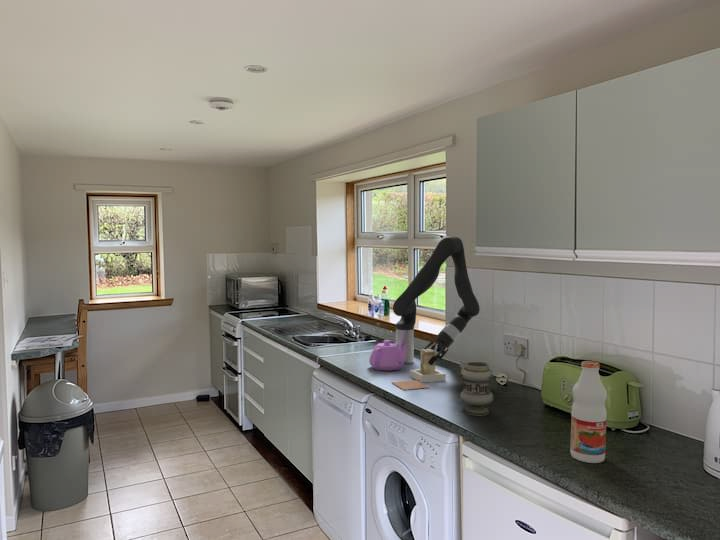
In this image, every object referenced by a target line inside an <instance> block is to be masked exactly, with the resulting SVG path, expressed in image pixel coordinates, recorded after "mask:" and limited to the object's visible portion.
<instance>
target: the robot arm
mask: <svg viewBox="0 0 720 540" xmlns="http://www.w3.org/2000/svg"><path fill="white" fill-rule="evenodd" d="M449 257H451V259H452V260H453V264H454V277H453V279H454V280H453V281H454V286H455V289H456V292H457V295H458V297H459V298H460V299H461V301H462V303H463V304H462V306H461V307H460V308H459V310H458V311H457V312H456V314H455V316H454V317H453V318H452V319H451V320H450V321H449V322H448V323H447V324H446V325H445V326H444V327H443V328H442V329H441V330H440V332H439V333H438V334H437V335H436V336H435V341H433V340H431V341H430V342H429V343H428V344H427V345H426V346H425V347H424V348H423V349H432V350H434V356H433V357H432V358H431V359H430V360H429V361H428V363H429V364H430V365H433V363H434V362H435V363H436V362H437V360H442V359H443V357H444V356H445V355H447V352H448V351H449V348H450V347H451V346H452V345H453V344H454V342H456V339H457V338H458V337H459V336H460V334H461V333H462V332H463V331H464V330H465V328H466V327H467V324H468V323H469V322H470V321H471V320H472V318H473V317H476V316H477V315H478V314H479V313H480V309H481V308H480V304H479V302H478V299H477V297H476V296H475V294H474V292H473V288H472V287H473V286H472V285H471V281H470V278H469V273H468V269H467V268H468V267H467V262H466V257H465V249H464V243H463V241H462V239H461V238H460V237H458V236H445V237H442V238H441V239H440V240H439V242H438V243H437V245H436V247H435V248H434V250H433V252H432V254H431V255H430V257H429V258H428V259H427V260H426V261H425V263H424V264H423V266H422V267H421V268H420V270H419V271H418V272H417V274H416V275H415V277H414V278H413V279H412V281H411V282H409V283H410V284H409V285H408V286H407V288H406V289H404V291H403V292H402V293H401V294H400V295H399V296H398V297H397V298H396V299H395V301H394V302H393V306H392V311H393V313H394V315H395V316H397V317H400V319H399V320H398V322H396V324H395V343H397V344H398V345H399V347H400V350H401V352H402V349H403V347H404V346H405V345H409V346H408V347H407V350H406V354H407V357H406V360H405V362H404V364H412V363H414V354H415V352H414V343H415V336H414V335H415V325H416V321H417V320H416V319H417V303H416V301H415V300H416V299H418V298H419V297H420V296H421V295H423V294H425V292H427V291H428V290H429V289H430V288H431V287H432V286H433V284H434V283H436V281H437V279H438V278H439V275H440V271H441V267H442V265H443V264H444V263H445V261H446V260H447V259H448V258H449ZM419 359H420V360H421V356H420V357H419Z"/></svg>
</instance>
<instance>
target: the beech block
mask: <svg viewBox="0 0 720 540" xmlns="http://www.w3.org/2000/svg"><path fill="white" fill-rule="evenodd" d="M433 356H434V350H432V349H428V348H427V349H424V348H423V349H420V357H421V359H420V365H419V367H420V368H419V369H420V373H421V374H422V375H428V374H435V369H436V361H435V362H434V363H433V365H430V364H429V363H428V361H429V360H430V359H431V358H432V357H433Z"/></svg>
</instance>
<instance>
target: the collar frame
mask: <svg viewBox="0 0 720 540" xmlns="http://www.w3.org/2000/svg"><path fill="white" fill-rule="evenodd" d="M409 377H411V378H412V377H413V378H412V379H414V378H415V379H414V380H417V381H418V380H419V382H424V383H431V382H433V383H434V381H435V382H444V381H446V380H447V379H446V378H447V374H446V373H445V372H442V371H440V370H438V369H437V368H435V374H428V375H422V374H421V373H420V368H417V369H409Z"/></svg>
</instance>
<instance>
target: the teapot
mask: <svg viewBox="0 0 720 540" xmlns="http://www.w3.org/2000/svg"><path fill="white" fill-rule="evenodd" d="M408 346H409V345H405V346H404V347H403V349H402V352H401V350H400V347H399V345H398V344H397V343H396V342H394V343H392V342H391V340H388V339H383V342H380V343H379V342H378V343H377V344H375V346H374V348H373V349H372V351H371V353H370V356H369V358H368V359H369V361H368V362H369V365H370V366H371V367H372V369H375V370H379V371H386V372H391V371H397V370H399V369H401V368H402V367H403V366H404V364H405V363H404V362H405V360H406V357H407V354H406V350H407V347H408Z"/></svg>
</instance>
